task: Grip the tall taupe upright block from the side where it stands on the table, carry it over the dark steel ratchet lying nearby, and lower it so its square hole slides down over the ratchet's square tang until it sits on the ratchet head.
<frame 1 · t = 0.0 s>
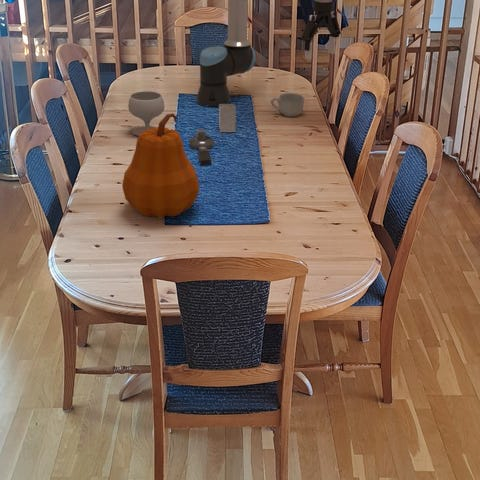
hand: (319, 56, 298), 28 cm above the table, tool pointing down, fingers open, 13 cm apart
ratchet: (201, 146, 286), on the table
chalice: (147, 133, 298), on the table
teacup: (286, 115, 321), on the table
decorative pumpkin: (161, 209, 236), on the table
tall taupe upright block: (227, 130, 302), on the table
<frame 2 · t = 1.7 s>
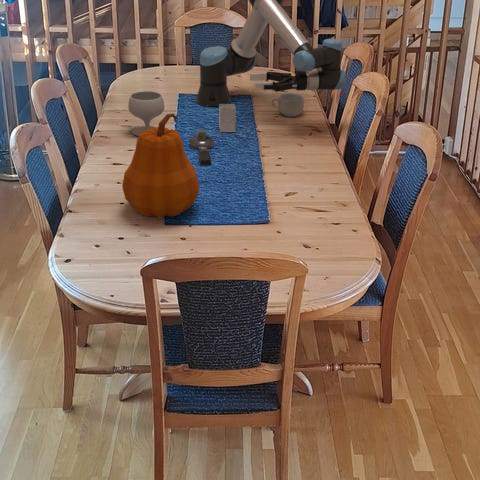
hand: (252, 81, 294), 20 cm above the table, tool horizontal, fingers open, 13 cm apart
nothing on the table moved.
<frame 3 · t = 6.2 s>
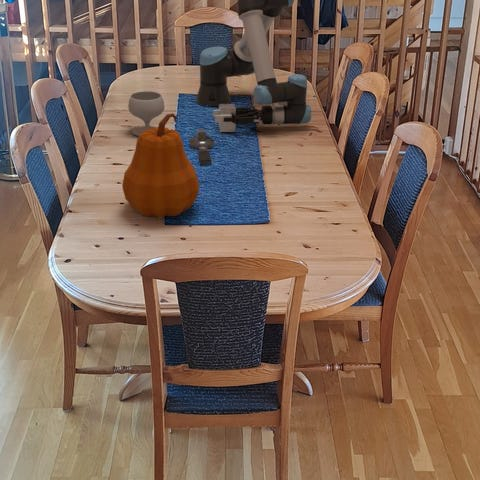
hand: (214, 116, 298), 6 cm above the table, tool horizontal, fingers closed on tall taupe upright block, 6 cm apart
tall taupe upright block: (227, 130, 302), on the table, touching gripper
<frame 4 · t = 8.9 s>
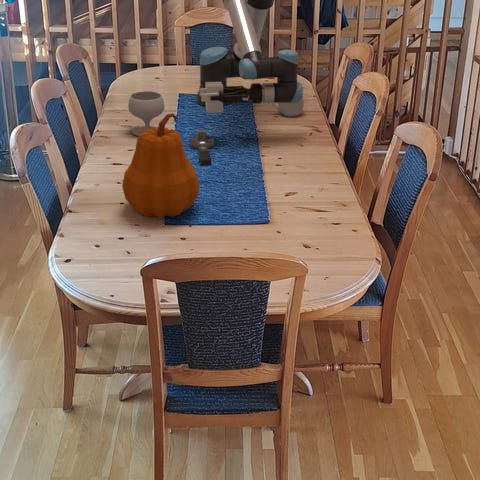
hand: (200, 95, 281), 18 cm above the table, tool horizontal, fingers closed on tall taupe upright block, 6 cm apart
tall taupe upright block: (214, 110, 285), point 12 cm above the table, touching gripper
when the fingers open (10 cm above the table, at t = 11.6 s): tall taupe upright block drops 2 cm, resting on ratchet.
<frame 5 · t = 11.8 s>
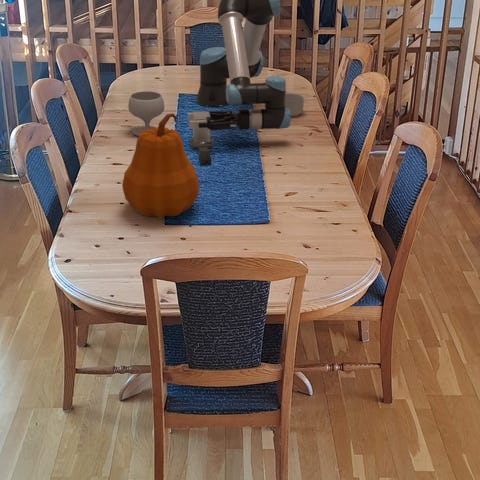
hand: (188, 120, 281), 10 cm above the table, tool horizontal, fingers open, 8 cm apart
ratchet: (201, 145, 286), on the table, touching tall taupe upright block
tall taupe upright block: (201, 139, 285), point 2 cm above the table, touching ratchet
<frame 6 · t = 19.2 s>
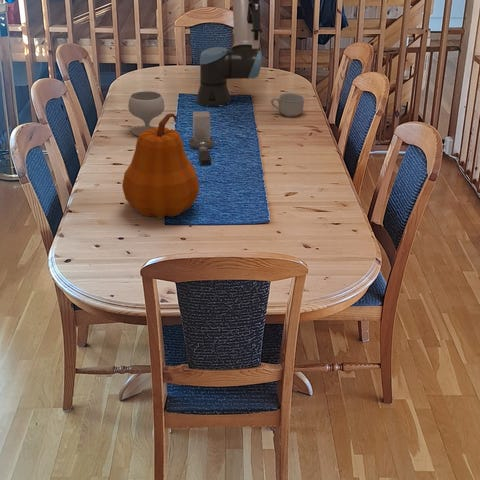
hand: (253, 44, 297), 32 cm above the table, tool pointing down, fingers open, 13 cm apart
at the end: tall taupe upright block 0.0 cm off-centre on the ratchet, point 2.5 cm above the ratchet's base; tall taupe upright block tilted 0°; the gripper is holding nothing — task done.
